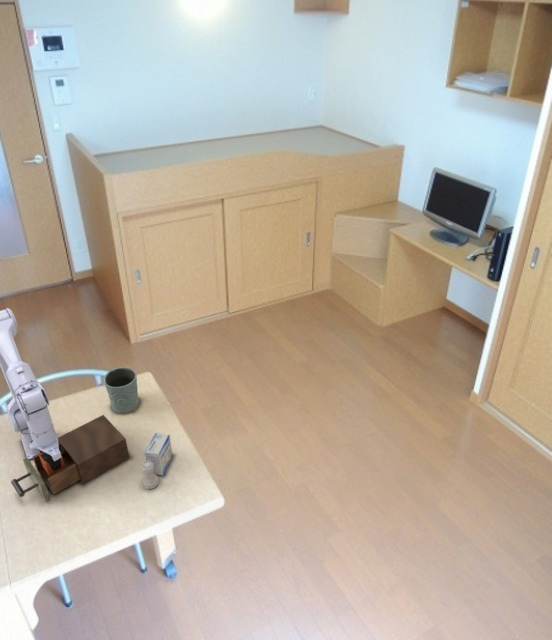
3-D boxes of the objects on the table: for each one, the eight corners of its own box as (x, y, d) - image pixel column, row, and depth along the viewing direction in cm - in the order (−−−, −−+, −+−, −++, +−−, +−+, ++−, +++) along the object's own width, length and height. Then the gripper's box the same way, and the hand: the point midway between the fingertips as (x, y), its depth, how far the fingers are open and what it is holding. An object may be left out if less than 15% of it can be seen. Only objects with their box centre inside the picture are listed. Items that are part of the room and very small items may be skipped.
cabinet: (83, 484, 146) (77, 464, 142) (62, 457, 154) (56, 438, 150) (129, 458, 154) (125, 438, 150) (107, 433, 163) (103, 414, 158)
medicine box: (162, 476, 149) (159, 454, 144) (148, 473, 149) (143, 452, 145) (173, 455, 155) (169, 434, 151) (158, 453, 156) (155, 431, 151)
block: (42, 466, 145) (38, 454, 143) (58, 458, 148) (54, 445, 145) (49, 476, 142) (45, 463, 140) (65, 467, 145) (61, 455, 142)
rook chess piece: (161, 479, 148) (158, 459, 143) (153, 491, 144) (150, 471, 140) (147, 475, 149) (144, 455, 145) (139, 487, 145) (135, 467, 141)
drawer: (27, 512, 138) (21, 496, 134) (10, 484, 145) (4, 468, 142) (93, 474, 148) (88, 459, 145) (73, 450, 156) (69, 435, 152)
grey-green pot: (127, 391, 180) (122, 363, 173) (148, 402, 175) (143, 374, 168) (103, 407, 173) (96, 378, 166) (124, 420, 168) (118, 391, 161)
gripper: (15, 419, 139) (28, 456, 147) (36, 449, 130) (49, 486, 138) (41, 407, 143) (52, 443, 151) (64, 435, 134) (75, 472, 142)
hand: (52, 463), depth 144 cm, fingers closed on block, 4 cm apart
